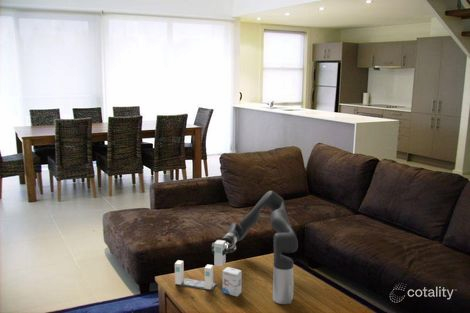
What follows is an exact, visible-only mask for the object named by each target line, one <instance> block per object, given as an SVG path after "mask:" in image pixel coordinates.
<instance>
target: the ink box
mask: <svg viewBox="0 0 470 313" xmlns="http://www.w3.org/2000/svg"><path fill="white" fill-rule="evenodd" d="M221 273H222V293H223V294H227V295H231V296H234V297H238V296H240V295H241V293H242V284H243V283H242V279H243V278H242V277H243V276H242V273H243V272H242V270H240V269H237V268H233V267H229V266H227V267H225V268H224V269H223V270H222V272H221Z"/></svg>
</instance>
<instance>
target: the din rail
mask: <svg viewBox="0 0 470 313" xmlns="http://www.w3.org/2000/svg"><path fill="white" fill-rule="evenodd" d="M174 284H175V283H174ZM175 285H176V286H182V287H188V288H196V289H200V290H201V289H202V290H207V291H213V290H214V289H215V288H216V286H217V283H216V282H213V287H212V288H211V289H205V280H198V279H191V278H185V277H184V282H183V283H182V284H181V285H180V284H175Z"/></svg>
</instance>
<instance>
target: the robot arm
mask: <svg viewBox="0 0 470 313" xmlns="http://www.w3.org/2000/svg"><path fill="white" fill-rule="evenodd" d="M285 204H286V203H285V200H284V198H283V197H282V196H280V195H279V194H278V193H277V192H275V191H273V190H269V191H267V192H266V193H264V195H263V196H262V197H261V199H260V200H258V202H257V203H256V204H255V206H254V207H253V208H252V209H251V210H250V211H249V212H248V213H247V214H246V215H245V216H244V217H242V219H241V220H239V223H238V222H233V223H231V224H230V225H229V226H228V229H227V233H226V234H224V235H223V237H222V238H221V239H220V240H223V241H226V248H225V249H224V250H223V251H222V255H225V254H228V253H229V254H232V253H234V252H236V250H237V245H236V243H237V242H238V241H242V240H243V239H244V238H245V236H246V235H247V233H248V231H249V230H250V229H251V228H252V227H253V226H255V225H256V224H257V222H258V221H259V219H260V215H261V214H260V213H261V210H262V209H263V208H264V207H266V208H268V209H269V210H270V211H271V214H270V218H269V219H270V220H269V221H270V224H271V227H272V229H273V230H274V231H276V232H275V233H274V235H273V274H272V276H273V277H272V279H273V280H272V284H273V285H272V301H273V302H274V303H276V304H280V305H291V304H292V302H293V299H294V282H295V280H294V260H293V259H292V258H291V257H289V256H287V255H284V254H285V253H286V254H290V253H295V252H297V250H298V248H299V243H298V242H299V241H298V238H297V234H296V232H295V230H294V228H292V225H291V222H290V219H289V216H288V214H287V210H286V205H285ZM214 243H215V242H212V243H211V251H212V252H211V253H212V255H214Z"/></svg>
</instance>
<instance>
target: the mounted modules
mask: <svg viewBox="0 0 470 313" xmlns="http://www.w3.org/2000/svg"><path fill="white" fill-rule="evenodd" d="M184 266H185V265H184V260H179V259H178V260H176V262H175V263H174V284H180V285H179V286H181V284H182V283H183V282H184V278H185V271H184V270H185V268H184ZM204 281H205V289H204V290H206V289H211V288H212V287H213V283H214V265H213V264H206V265H205V267H204Z"/></svg>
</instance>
